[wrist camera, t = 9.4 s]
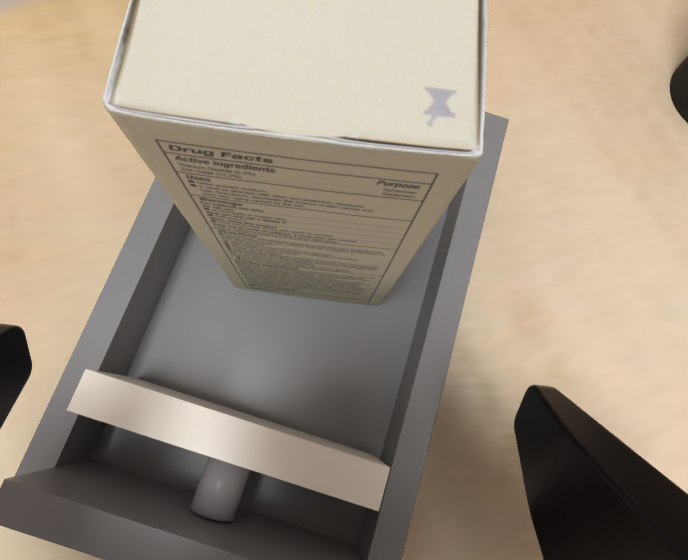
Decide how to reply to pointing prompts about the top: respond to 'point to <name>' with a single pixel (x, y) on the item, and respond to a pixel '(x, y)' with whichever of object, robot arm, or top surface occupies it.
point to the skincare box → (305, 129)
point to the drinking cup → (681, 88)
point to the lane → (250, 395)
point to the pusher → (230, 444)
